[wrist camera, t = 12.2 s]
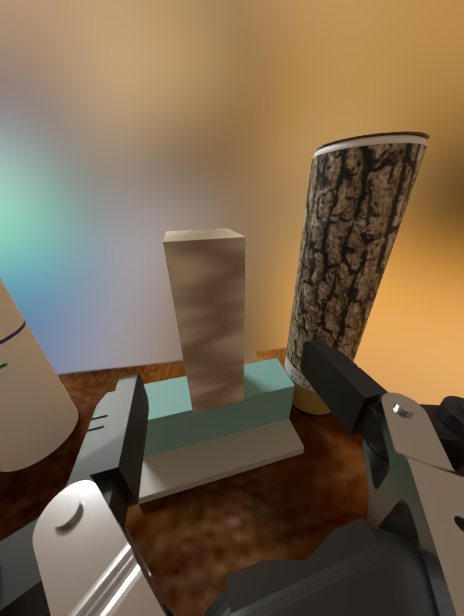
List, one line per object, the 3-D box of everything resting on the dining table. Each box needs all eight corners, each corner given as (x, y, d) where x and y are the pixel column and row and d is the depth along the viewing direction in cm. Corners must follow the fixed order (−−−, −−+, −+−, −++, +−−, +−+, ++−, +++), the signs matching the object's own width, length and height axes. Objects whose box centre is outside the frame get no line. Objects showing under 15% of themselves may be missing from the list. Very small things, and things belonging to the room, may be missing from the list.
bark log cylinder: (351, 409, 24) (459, 135, 12) (300, 425, 22) (366, 127, 10) (315, 368, 29) (364, 157, 18) (272, 379, 28) (295, 155, 16)
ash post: (192, 413, 17) (163, 241, 11) (189, 374, 21) (166, 231, 14) (243, 400, 18) (245, 236, 11) (231, 366, 22) (227, 228, 15)
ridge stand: (138, 504, 17) (117, 466, 14) (151, 401, 25) (139, 365, 22) (302, 453, 20) (313, 413, 17) (263, 376, 28) (266, 342, 25)
